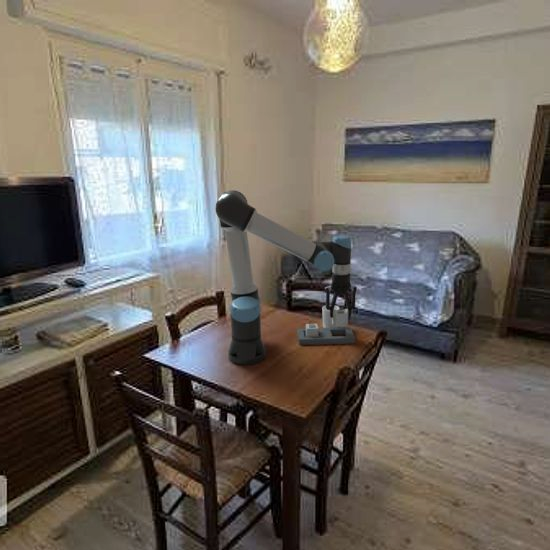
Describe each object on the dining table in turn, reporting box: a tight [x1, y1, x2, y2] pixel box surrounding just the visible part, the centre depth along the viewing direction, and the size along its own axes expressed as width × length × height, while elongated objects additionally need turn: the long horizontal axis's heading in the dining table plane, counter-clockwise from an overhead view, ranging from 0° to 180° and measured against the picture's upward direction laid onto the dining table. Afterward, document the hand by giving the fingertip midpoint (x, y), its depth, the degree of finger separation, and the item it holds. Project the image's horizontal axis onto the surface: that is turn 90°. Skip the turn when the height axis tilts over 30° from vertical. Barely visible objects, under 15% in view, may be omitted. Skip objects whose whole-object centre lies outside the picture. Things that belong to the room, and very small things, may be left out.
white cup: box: [321, 304, 341, 328], centre depth 186 cm, size 8×8×10 cm
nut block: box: [335, 308, 348, 328], centre depth 174 cm, size 5×5×6 cm
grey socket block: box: [296, 323, 356, 346], centre depth 176 cm, size 24×11×6 cm, turn 92°
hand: (339, 323), depth 175 cm, fingers closed on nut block, 5 cm apart
